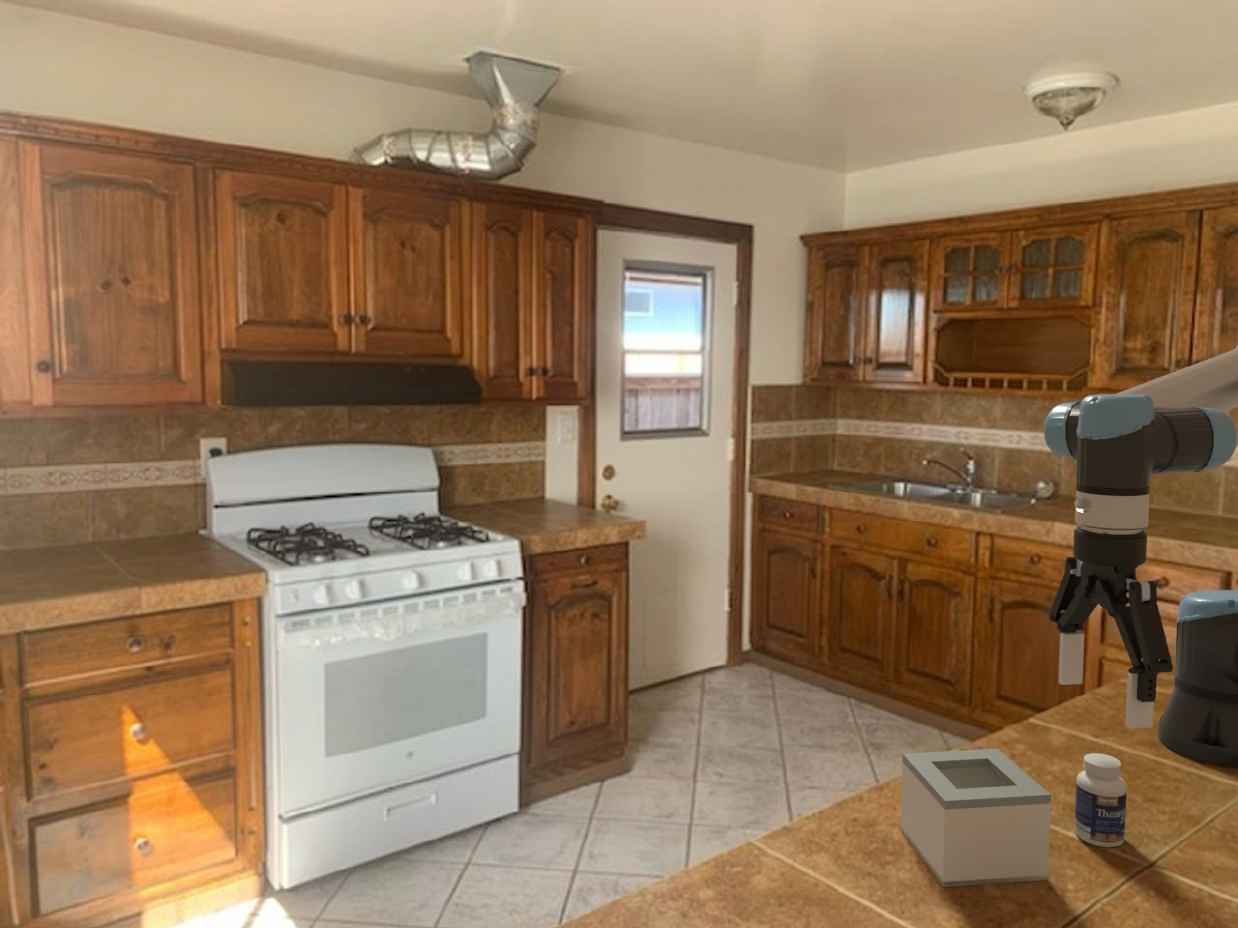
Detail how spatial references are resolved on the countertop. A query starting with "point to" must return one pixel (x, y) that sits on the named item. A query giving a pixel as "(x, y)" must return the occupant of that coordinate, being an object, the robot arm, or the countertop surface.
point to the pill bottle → (1100, 801)
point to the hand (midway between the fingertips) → (1102, 703)
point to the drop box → (975, 817)
